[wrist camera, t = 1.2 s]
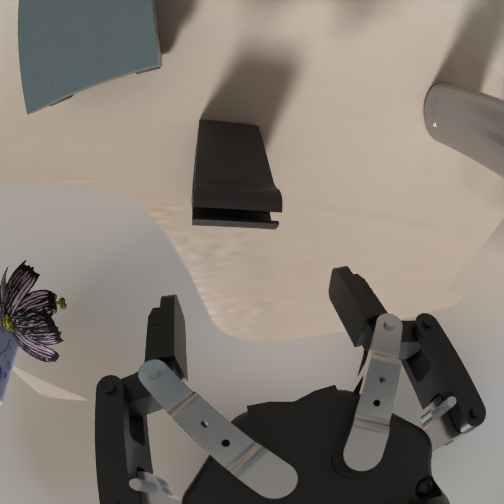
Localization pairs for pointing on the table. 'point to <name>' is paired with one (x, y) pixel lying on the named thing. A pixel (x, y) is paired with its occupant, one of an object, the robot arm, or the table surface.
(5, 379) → the aerosol can
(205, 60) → the table surface
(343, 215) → the table surface
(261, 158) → the triangular clip stand
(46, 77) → the trolley
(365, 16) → the table surface
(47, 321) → the decorative flower
